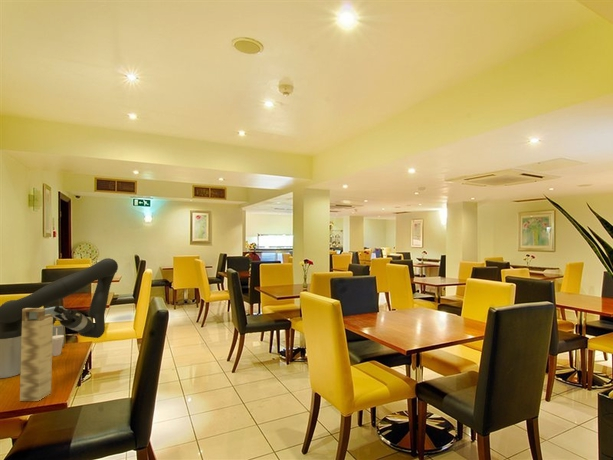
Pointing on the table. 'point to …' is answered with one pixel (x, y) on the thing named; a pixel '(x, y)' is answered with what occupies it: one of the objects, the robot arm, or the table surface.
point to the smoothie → (57, 344)
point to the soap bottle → (58, 329)
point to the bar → (47, 311)
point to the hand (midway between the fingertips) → (51, 308)
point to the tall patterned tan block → (36, 355)
